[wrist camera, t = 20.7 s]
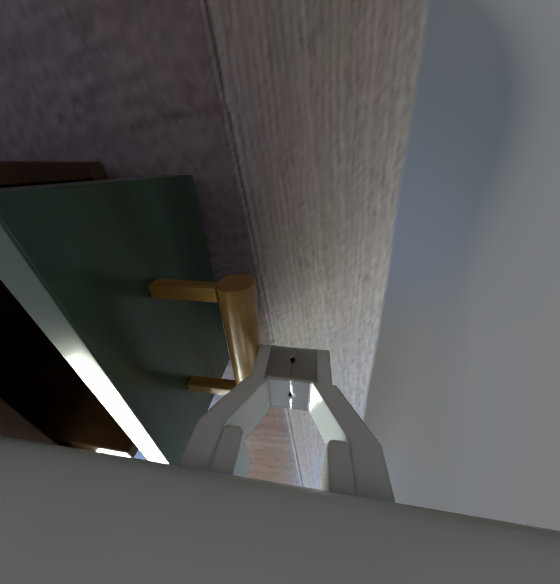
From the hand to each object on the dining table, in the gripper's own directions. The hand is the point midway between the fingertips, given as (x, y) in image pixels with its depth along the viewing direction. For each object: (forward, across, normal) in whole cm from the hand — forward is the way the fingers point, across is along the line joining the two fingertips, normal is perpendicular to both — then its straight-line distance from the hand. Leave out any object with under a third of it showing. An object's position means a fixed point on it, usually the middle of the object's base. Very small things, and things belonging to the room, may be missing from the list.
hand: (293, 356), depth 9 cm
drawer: (+5, +11, 0) cm, 12 cm away
